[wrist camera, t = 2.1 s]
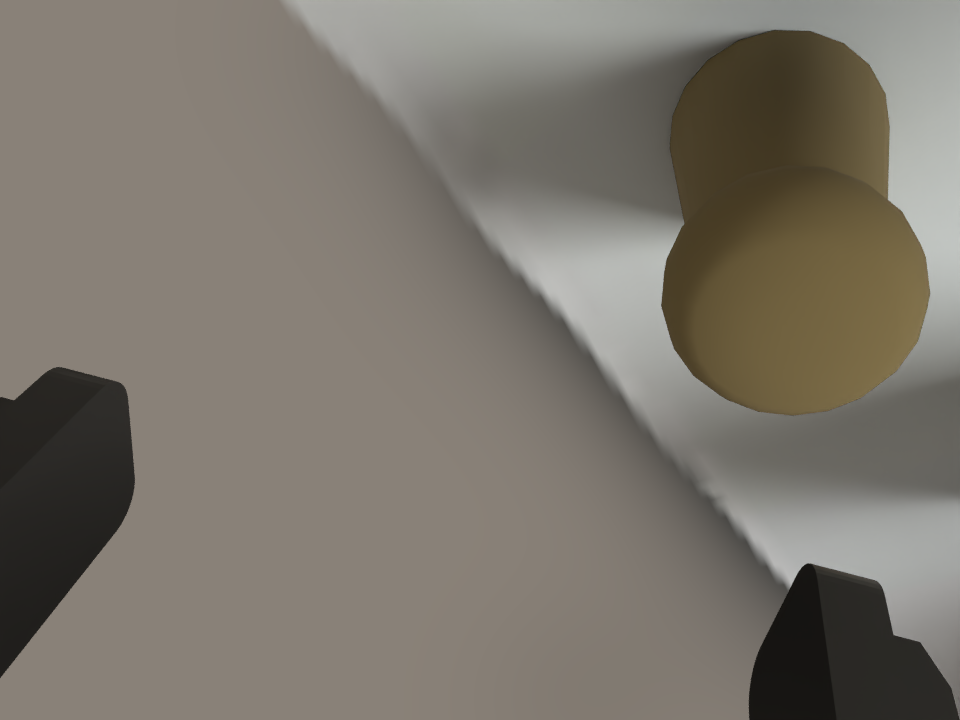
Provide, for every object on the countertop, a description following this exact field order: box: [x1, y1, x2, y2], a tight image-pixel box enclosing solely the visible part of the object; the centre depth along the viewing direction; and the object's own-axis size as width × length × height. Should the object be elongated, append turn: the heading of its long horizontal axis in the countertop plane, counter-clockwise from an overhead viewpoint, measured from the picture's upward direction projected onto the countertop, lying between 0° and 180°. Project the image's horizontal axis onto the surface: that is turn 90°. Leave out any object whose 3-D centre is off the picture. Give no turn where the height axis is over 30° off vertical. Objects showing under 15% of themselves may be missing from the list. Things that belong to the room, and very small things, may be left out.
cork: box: [661, 30, 930, 415], centre depth 22 cm, size 6×6×11 cm
